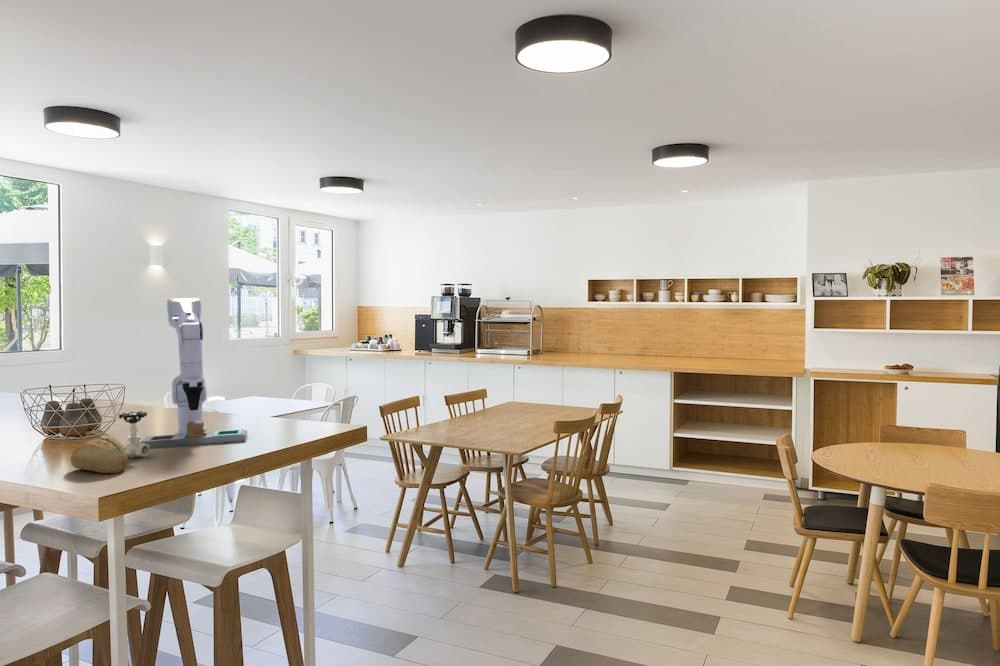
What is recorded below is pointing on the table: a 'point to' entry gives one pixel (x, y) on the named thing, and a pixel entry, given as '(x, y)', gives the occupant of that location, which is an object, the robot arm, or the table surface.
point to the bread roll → (100, 456)
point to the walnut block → (195, 429)
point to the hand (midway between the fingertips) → (193, 408)
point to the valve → (134, 436)
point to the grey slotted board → (196, 438)
